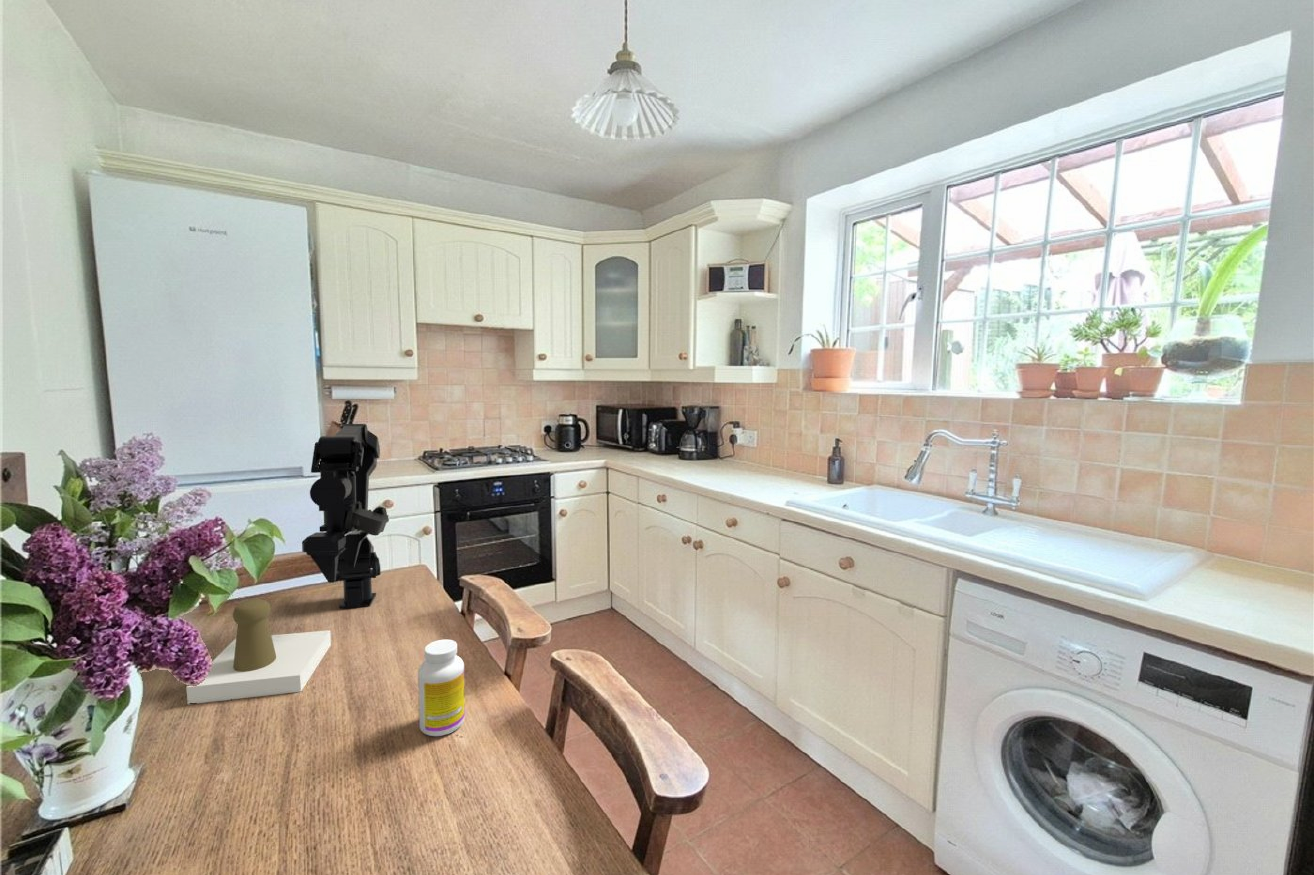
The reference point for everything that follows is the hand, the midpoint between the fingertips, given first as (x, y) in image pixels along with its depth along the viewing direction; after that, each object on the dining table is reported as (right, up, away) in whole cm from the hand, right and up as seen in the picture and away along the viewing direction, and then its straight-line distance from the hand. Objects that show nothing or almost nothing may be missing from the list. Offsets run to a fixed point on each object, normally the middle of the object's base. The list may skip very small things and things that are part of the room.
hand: (342, 574), depth 108 cm
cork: (-7, -12, -14) cm, 20 cm away
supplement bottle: (+30, -17, -24) cm, 42 cm away
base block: (-6, -14, -12) cm, 20 cm away
